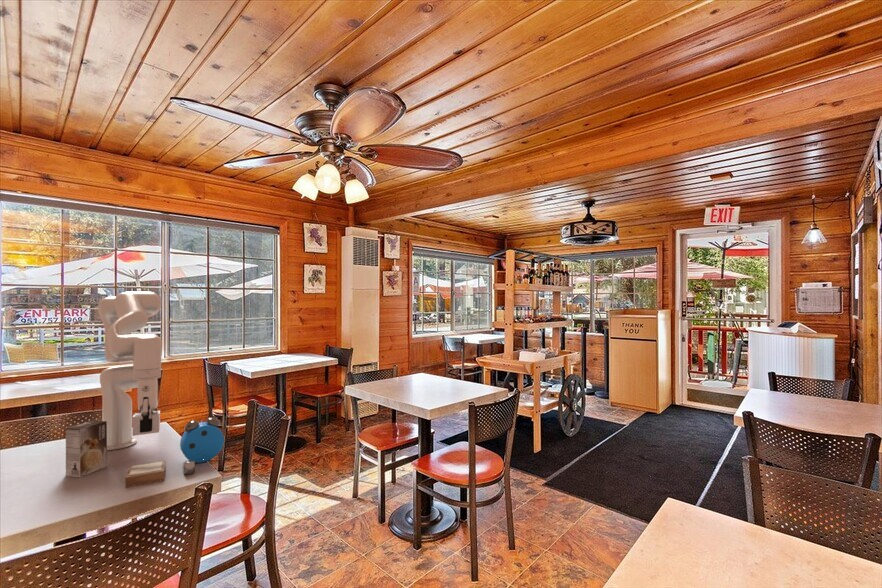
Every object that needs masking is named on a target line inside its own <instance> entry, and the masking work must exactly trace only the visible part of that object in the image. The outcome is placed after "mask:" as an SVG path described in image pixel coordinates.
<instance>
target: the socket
mask: <svg viewBox="0 0 882 588" xmlns="http://www.w3.org/2000/svg"><path fill="white" fill-rule="evenodd" d="M195 464H196V462H195V460H188V459H187V460H185V461H184V462H183V476H187V477H188V475H189V476H192V475H195V473H196V471H195V470H196V466H195Z"/></svg>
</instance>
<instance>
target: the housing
mask: <svg viewBox="0 0 882 588" xmlns="http://www.w3.org/2000/svg"><path fill="white" fill-rule="evenodd" d="M151 419H152V431H150V432H143V433H140V420H141V412H136V413H135V412H134V413H133V414H132V437H133V436H141V435H142V436H143V435H148V434H149V435H150V434H157V433H160V431H161V410H153V411H151Z"/></svg>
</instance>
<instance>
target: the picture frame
mask: <svg viewBox="0 0 882 588" xmlns="http://www.w3.org/2000/svg"><path fill="white" fill-rule="evenodd" d="M166 464H167V462H166V460H162V461H156V462H150V463H143V464H139V465H138V464H137V465H132V466H129V468H128V470H127V472H126V475H125V480H124V482H125V484H124V487H125V488H130V487H136V486H140V485H146V484H152V483H157V482H164V481H165V476H166Z"/></svg>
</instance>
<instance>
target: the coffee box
mask: <svg viewBox="0 0 882 588" xmlns="http://www.w3.org/2000/svg"><path fill="white" fill-rule="evenodd" d="M107 457H108V450H107V421H102V420H89V421H86V422H83V423H78V424H75V425H71V426H67V427H66V428H65V476H66V477H72V478H73V477H74V478H82V477H84V476H87V475H89V474H92V473H94V472H97V471H100V470H102V469H104V468H107V467H108V461H107V460H108V458H107Z"/></svg>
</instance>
